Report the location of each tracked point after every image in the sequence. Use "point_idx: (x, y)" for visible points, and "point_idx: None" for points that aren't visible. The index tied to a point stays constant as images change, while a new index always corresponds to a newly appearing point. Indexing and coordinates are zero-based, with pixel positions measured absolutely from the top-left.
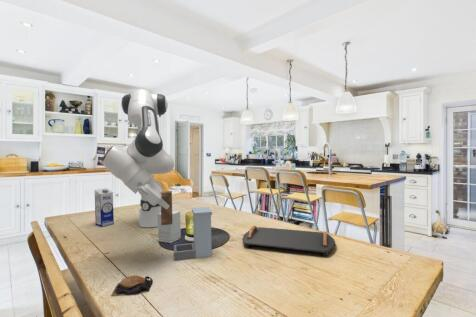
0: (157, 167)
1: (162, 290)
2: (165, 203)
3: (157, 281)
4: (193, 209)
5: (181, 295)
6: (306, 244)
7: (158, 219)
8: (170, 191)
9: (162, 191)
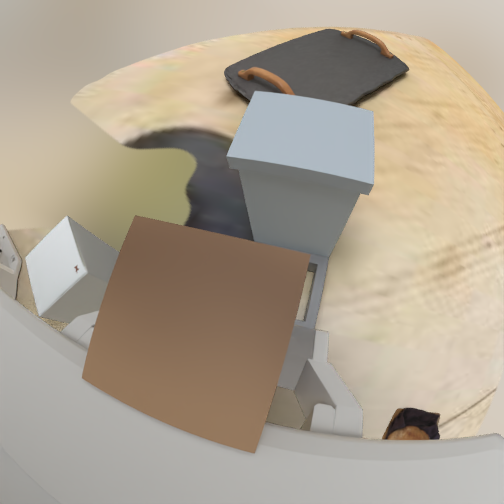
0: None
1: (449, 385)
2: (332, 374)
3: (410, 396)
4: (270, 157)
5: (478, 346)
6: (374, 63)
7: (59, 318)
8: (150, 240)
9: (17, 311)
